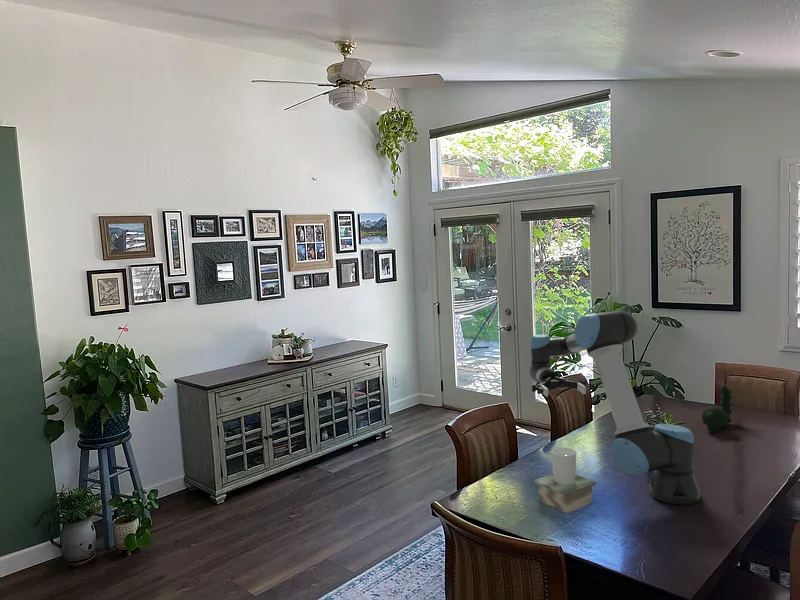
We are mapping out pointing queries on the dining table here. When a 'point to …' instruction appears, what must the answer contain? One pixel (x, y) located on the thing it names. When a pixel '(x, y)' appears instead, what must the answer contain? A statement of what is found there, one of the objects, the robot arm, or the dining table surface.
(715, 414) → the green lumpy piece
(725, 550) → the dining table surface
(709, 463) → the dining table surface
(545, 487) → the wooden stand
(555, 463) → the white cup
